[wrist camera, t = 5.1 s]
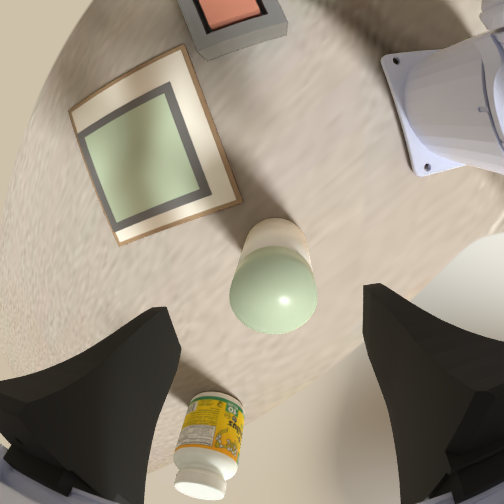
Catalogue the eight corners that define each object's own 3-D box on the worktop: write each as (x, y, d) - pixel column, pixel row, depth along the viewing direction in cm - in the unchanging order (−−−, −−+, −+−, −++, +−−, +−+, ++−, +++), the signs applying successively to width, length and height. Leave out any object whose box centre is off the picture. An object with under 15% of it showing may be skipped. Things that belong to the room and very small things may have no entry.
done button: (244, -17, 12) (242, -26, 11) (260, 16, 13) (259, 9, 12) (199, -2, 13) (194, -10, 11) (214, 32, 13) (209, 25, 12)
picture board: (184, 45, 15) (183, 43, 15) (242, 202, 19) (242, 203, 18) (69, 111, 17) (67, 111, 17) (120, 245, 21) (118, 247, 20)
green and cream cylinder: (296, 209, 19) (304, 247, 12) (313, 266, 20) (325, 322, 14) (236, 228, 19) (216, 272, 13) (256, 282, 21) (246, 341, 15)
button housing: (258, -24, 13) (255, -41, 11) (286, 35, 14) (287, 21, 12) (183, 2, 14) (172, -12, 12) (207, 61, 15) (197, 51, 13)
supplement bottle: (183, 389, 26) (154, 473, 17) (239, 389, 25) (223, 481, 16) (199, 422, 27) (178, 498, 19) (250, 422, 27) (239, 505, 18)
